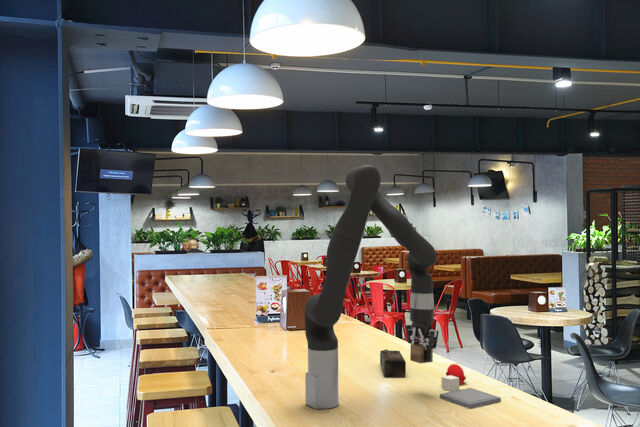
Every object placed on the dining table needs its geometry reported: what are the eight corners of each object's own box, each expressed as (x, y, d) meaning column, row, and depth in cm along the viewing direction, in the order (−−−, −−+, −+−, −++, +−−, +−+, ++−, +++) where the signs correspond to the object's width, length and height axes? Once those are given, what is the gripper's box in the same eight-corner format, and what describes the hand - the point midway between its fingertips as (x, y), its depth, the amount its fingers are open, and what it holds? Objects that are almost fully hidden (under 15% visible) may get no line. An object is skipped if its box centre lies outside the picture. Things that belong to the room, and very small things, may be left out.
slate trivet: (469, 408, 178) (469, 404, 178) (439, 397, 189) (439, 393, 189) (500, 401, 185) (500, 397, 185) (470, 391, 196) (470, 387, 196)
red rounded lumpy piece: (443, 370, 212) (442, 364, 207) (459, 364, 212) (458, 358, 207) (452, 391, 207) (451, 386, 202) (468, 385, 207) (468, 380, 202)
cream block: (450, 391, 196) (449, 379, 196) (441, 389, 200) (441, 376, 200) (459, 390, 198) (459, 377, 198) (450, 387, 202) (450, 375, 202)
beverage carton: (400, 365, 233) (400, 348, 233) (406, 378, 214) (406, 359, 214) (379, 365, 233) (379, 348, 234) (384, 378, 214) (383, 360, 214)
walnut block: (420, 363, 191) (420, 347, 191) (410, 360, 195) (410, 344, 195) (432, 361, 193) (432, 346, 193) (422, 358, 198) (422, 343, 198)
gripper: (398, 304, 199) (398, 356, 199) (427, 310, 187) (427, 365, 186) (416, 303, 203) (416, 354, 202) (445, 308, 190) (445, 363, 190)
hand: (421, 359), depth 194 cm, fingers closed on walnut block, 5 cm apart
